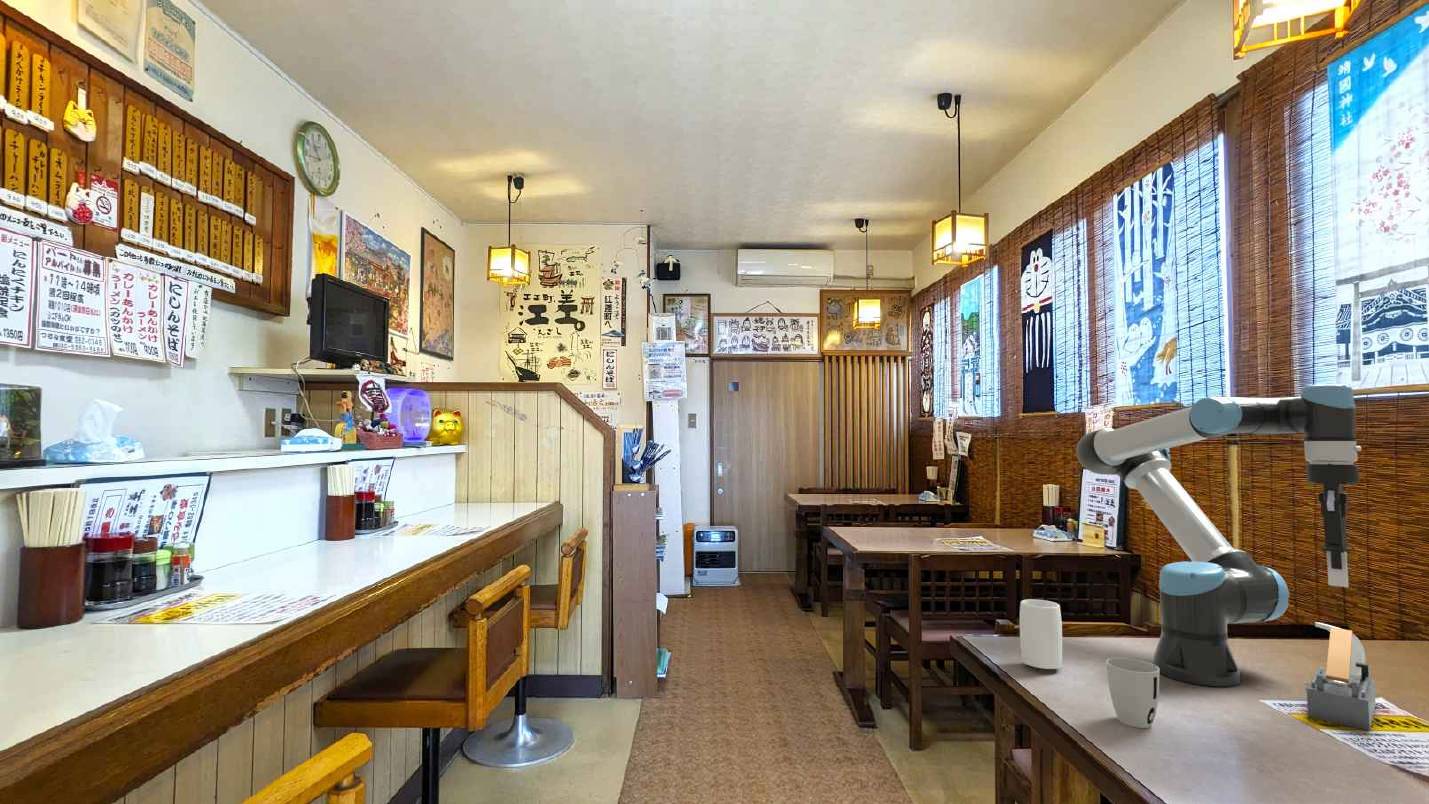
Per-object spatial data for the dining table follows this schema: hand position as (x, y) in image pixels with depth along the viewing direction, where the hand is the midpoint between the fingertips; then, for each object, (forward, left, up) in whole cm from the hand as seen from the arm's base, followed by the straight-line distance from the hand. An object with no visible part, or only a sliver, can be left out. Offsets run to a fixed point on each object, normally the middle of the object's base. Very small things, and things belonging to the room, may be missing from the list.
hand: (1338, 585), depth 127 cm
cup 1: (-52, +4, -23) cm, 57 cm away
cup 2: (-41, -22, -23) cm, 52 cm away
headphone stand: (+6, +13, -23) cm, 27 cm away
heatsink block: (-3, -4, -22) cm, 23 cm away
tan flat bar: (-2, -4, -13) cm, 13 cm away
